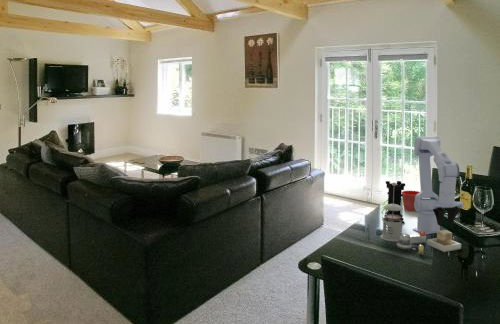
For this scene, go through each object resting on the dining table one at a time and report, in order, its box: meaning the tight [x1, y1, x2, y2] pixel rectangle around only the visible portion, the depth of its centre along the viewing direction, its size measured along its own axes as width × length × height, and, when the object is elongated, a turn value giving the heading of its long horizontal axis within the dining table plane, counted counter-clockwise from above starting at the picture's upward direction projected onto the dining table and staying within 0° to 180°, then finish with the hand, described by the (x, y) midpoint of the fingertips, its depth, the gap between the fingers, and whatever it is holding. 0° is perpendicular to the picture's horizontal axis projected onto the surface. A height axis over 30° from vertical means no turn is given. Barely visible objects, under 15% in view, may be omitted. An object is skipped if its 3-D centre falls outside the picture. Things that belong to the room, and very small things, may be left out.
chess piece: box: [383, 180, 406, 225], centre depth 196 cm, size 8×8×20 cm
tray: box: [426, 237, 462, 253], centre depth 162 cm, size 9×9×2 cm
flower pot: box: [401, 190, 423, 212], centre depth 218 cm, size 11×11×10 cm
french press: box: [379, 182, 404, 242], centre depth 173 cm, size 10×12×25 cm
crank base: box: [396, 241, 424, 256], centre depth 159 cm, size 6×12×4 cm, turn 20°
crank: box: [399, 231, 427, 244], centre depth 162 cm, size 11×4×4 cm, turn 100°
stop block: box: [436, 229, 453, 246], centre depth 161 cm, size 4×4×6 cm
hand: (444, 224), depth 161 cm, fingers open, 4 cm apart
